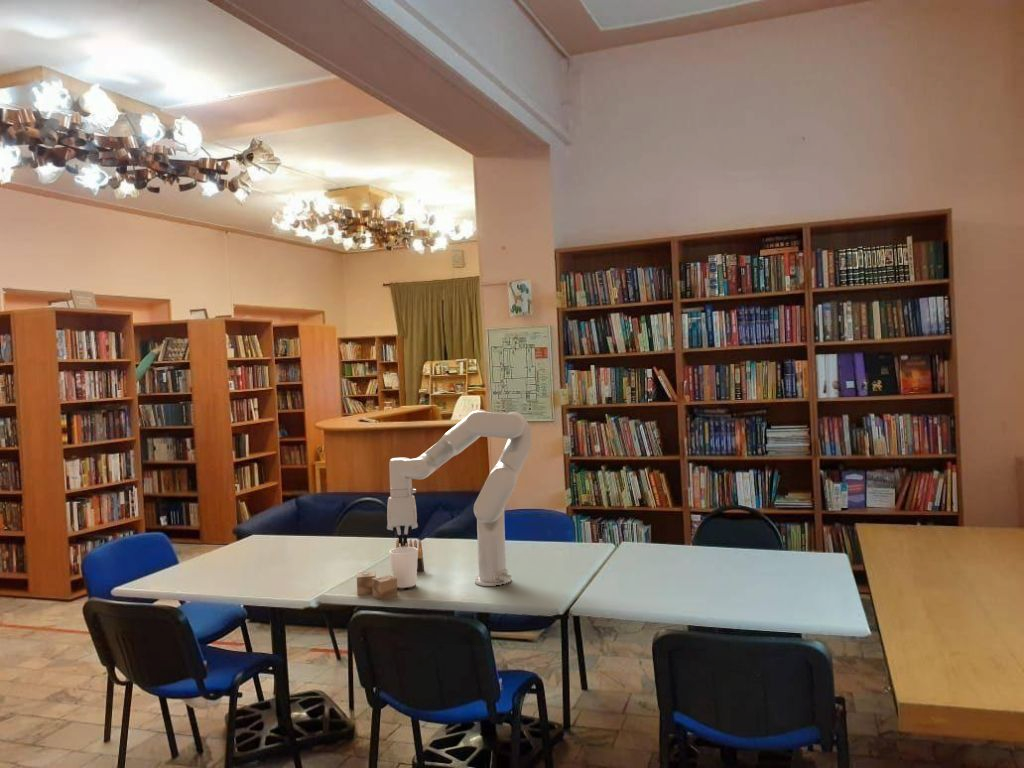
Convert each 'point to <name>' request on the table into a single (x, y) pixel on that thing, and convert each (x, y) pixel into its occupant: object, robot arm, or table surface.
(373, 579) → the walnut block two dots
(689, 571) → the table surface
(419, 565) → the ammunition clip
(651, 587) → the table surface
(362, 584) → the walnut block one dot
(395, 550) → the cup
